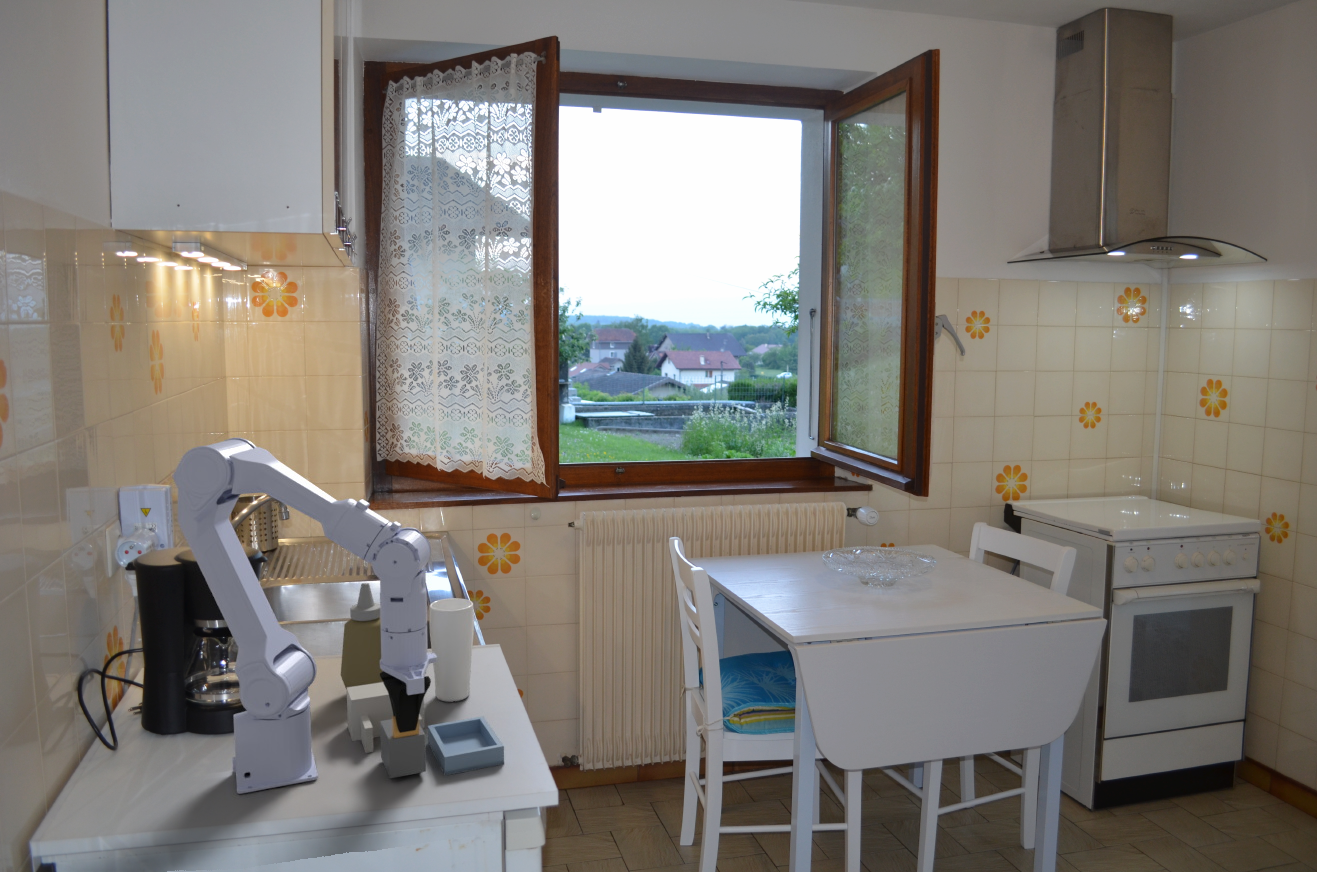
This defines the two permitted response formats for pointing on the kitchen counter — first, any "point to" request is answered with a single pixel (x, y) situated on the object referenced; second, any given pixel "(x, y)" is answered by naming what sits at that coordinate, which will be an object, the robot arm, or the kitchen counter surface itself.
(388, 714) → the bay
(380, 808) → the kitchen counter surface
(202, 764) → the kitchen counter surface
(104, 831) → the kitchen counter surface
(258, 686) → the robot arm
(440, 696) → the drinking glass
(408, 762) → the gray block with tab
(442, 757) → the tray
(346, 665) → the squeeze bottle
